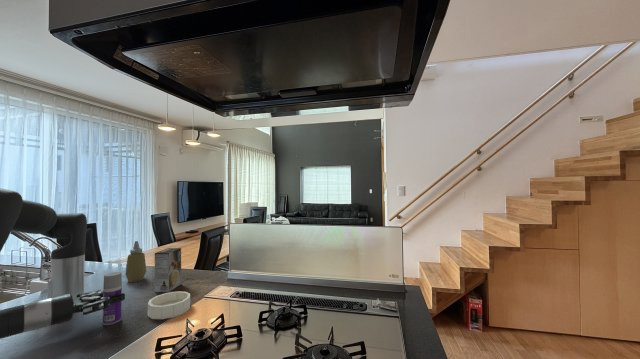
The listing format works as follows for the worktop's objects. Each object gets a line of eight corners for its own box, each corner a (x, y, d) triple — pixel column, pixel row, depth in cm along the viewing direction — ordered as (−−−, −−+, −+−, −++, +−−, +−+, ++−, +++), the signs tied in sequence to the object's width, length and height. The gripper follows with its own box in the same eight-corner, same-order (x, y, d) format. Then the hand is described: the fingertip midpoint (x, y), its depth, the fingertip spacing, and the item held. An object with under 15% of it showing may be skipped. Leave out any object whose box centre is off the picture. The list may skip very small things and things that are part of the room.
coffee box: (167, 284, 117) (167, 247, 118) (181, 284, 117) (181, 247, 117) (153, 292, 108) (154, 252, 108) (169, 292, 108) (169, 252, 108)
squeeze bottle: (138, 283, 119) (138, 242, 119) (120, 283, 119) (121, 243, 119) (150, 277, 127) (150, 239, 127) (133, 277, 127) (134, 239, 127)
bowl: (144, 322, 83) (144, 309, 84) (151, 306, 95) (151, 295, 95) (189, 314, 88) (189, 302, 89) (190, 299, 100) (190, 289, 100)
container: (124, 319, 86) (125, 272, 86) (109, 326, 81) (110, 277, 82) (114, 316, 87) (115, 271, 88) (99, 323, 83) (99, 275, 83)
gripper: (51, 305, 69) (128, 287, 82) (47, 292, 79) (116, 277, 91) (50, 334, 69) (127, 311, 82) (46, 317, 78) (116, 299, 91)
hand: (121, 293), depth 86 cm, fingers open, 6 cm apart
